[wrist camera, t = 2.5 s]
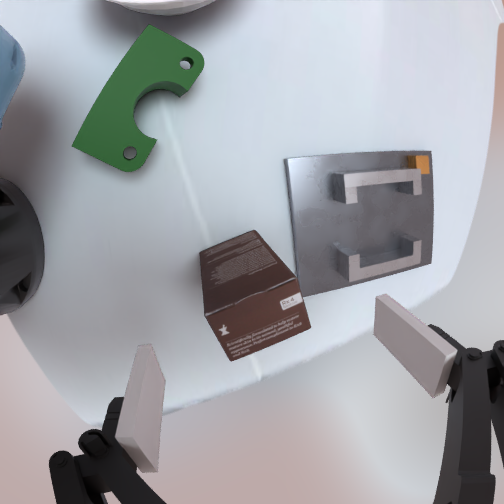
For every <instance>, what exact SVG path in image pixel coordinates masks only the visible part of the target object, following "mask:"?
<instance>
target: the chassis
mask: <svg viewBox="0 0 504 504" xmlns="http://www.w3.org/2000/svg"><path fill="white" fill-rule="evenodd" d="M285 166H286V174H287V182H288V191H289V199H290V208H291V217H292V226H293V236H294V246H295V257H296V267H297V278H298V282H299V285H300V289H301V293H302V297H306V296H311V295H315V294H319V293H323V292H327V291H331V290H336V289H340V288H344V287H348V286H352V285H355V284H359V283H363V282H367V281H371V280H375V279H378V278H382V277H386V276H389V275H393V274H397V273H400V272H404V271H407V270H411V269H414V268H418V267H421V266H424V265H428V264H431V261H432V245H433V215H434V200H433V169H432V154H431V151H384V152H362V153H345V154H331V155H319V156H308V157H298V158H289V159H285Z"/></svg>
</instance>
